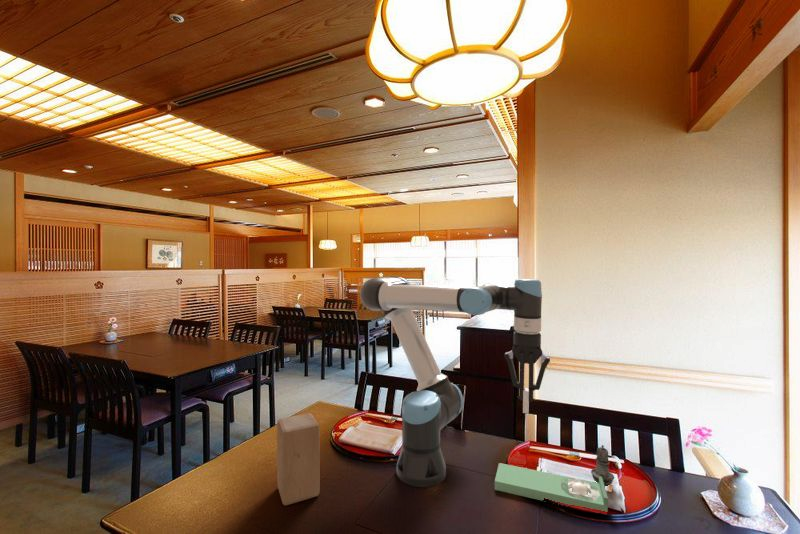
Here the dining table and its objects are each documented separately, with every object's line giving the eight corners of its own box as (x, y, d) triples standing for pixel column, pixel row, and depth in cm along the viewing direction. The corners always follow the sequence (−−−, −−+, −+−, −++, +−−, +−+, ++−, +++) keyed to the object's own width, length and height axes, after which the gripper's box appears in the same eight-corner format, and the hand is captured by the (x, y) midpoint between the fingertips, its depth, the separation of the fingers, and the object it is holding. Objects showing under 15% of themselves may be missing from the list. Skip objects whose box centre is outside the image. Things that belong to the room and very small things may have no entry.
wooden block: (282, 508, 94) (282, 432, 94) (276, 487, 103) (276, 417, 103) (320, 496, 99) (320, 424, 99) (311, 477, 108) (311, 411, 107)
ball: (572, 485, 97) (588, 489, 95) (571, 477, 101) (587, 481, 99) (571, 500, 97) (588, 504, 95) (571, 492, 101) (587, 496, 99)
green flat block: (494, 489, 102) (494, 473, 102) (499, 470, 111) (499, 456, 111) (607, 515, 91) (607, 498, 91) (602, 492, 100) (602, 476, 100)
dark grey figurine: (617, 494, 100) (617, 451, 100) (594, 491, 101) (594, 449, 101) (609, 481, 106) (609, 440, 105) (588, 479, 107) (588, 439, 107)
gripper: (502, 332, 104) (501, 412, 105) (551, 336, 99) (549, 420, 100) (505, 327, 111) (504, 403, 112) (551, 331, 106) (549, 410, 107)
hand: (525, 411), depth 106 cm, fingers closed
